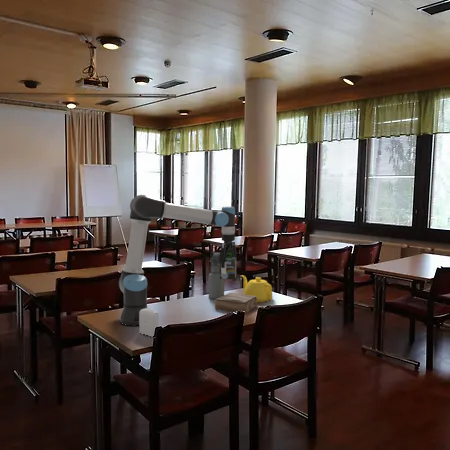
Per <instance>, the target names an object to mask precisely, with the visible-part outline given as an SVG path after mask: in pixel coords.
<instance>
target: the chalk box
mask: <svg viewBox="0 0 450 450" xmlns="http://www.w3.org/2000/svg"><path fill="white" fill-rule="evenodd" d="M228 255H229V256H228ZM225 262H226V274H222V273H221V262H220V279H224V280H236V278H237V257H232V253H229V252H228V254H227V257H226V261H225Z"/></svg>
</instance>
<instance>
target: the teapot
mask: <svg viewBox="0 0 450 450" xmlns="http://www.w3.org/2000/svg"><path fill="white" fill-rule="evenodd" d="M241 277H242V279H243V283H242V284H243V287H242V288H243V295H251V296H256V297H257V303H266V302H265V301H267V302H269V301H270V300H272V299H273V297H274V296H273V287H272V284H270V283H268V281H267V280H265V279H262V277H260V276H259V277H257V276H256V277H255V279H250V280H249V281H248V279H247V277H246V275H243V274H242V275H241Z"/></svg>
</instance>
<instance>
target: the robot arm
mask: <svg viewBox="0 0 450 450" xmlns="http://www.w3.org/2000/svg"><path fill="white" fill-rule="evenodd" d="M129 209H130V214H129V220H130V221H131V226H130V233H129V241H128V247H127V253H126V261H125V266H124V267H123V268H122V269H121V275H120V276H119V280H118V287H119V289H120V292H122V293H123V309H122V311H121V316H120V318H119V319H120V320H119V323H120V322H121V323H123V324H126V325H139V312H140V310H142V309H146V308H148V279H147V277H146V276H144V274H145V271H144V270H143V261H144V257H145V248H146V242H147V236H148V234H147V233H148V230H149V229H148V228H149V224H150V223H152V220H153V219H157V220H158V219H159V220H161V219H164V218H165V219H171V220H172V219H174V220H179V221H180V220H181V221H186V222H192V223H199V224H203V225H210V226H217V227H221V241H223V243H221V244H220V252H219V253H220V259H219V262H221V273H222V274H226V262H225V261H226V257H228V253H232V257H236V258H237V249H236V235H235V233H236V208H235V207H234V206H222V207H221V209H220V210H210V209H205V208H199V207H195V206H194V207H193V206H188V205H182V204H181V205H180V204H175V203H169V202H167V201H165V200H163V199H160V198H159V199H158V198H155V197H152V196H149V195H145V194H139V195H136V196H135V197H133V198H132V199H131V201H130V204H129ZM121 323H120V324H121ZM126 325H125V326H126Z"/></svg>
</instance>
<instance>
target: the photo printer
mask: <svg viewBox="0 0 450 450" xmlns="http://www.w3.org/2000/svg"><path fill="white" fill-rule="evenodd" d="M159 321H160V319H159V313H158V311H156V310H154V309H152V308H148V307H147V308H146V309H142V310H140V312H139V326H138V327H139V328H138V329H139V331H138V333H139V334H140V333H141V334H140V335H143V334H145V335H144V336H146V335H148V336H147V337H150V336H151V338H154V337H153V336H154V331H155V328H156V327H160V324H159V323H160V322H159Z"/></svg>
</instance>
